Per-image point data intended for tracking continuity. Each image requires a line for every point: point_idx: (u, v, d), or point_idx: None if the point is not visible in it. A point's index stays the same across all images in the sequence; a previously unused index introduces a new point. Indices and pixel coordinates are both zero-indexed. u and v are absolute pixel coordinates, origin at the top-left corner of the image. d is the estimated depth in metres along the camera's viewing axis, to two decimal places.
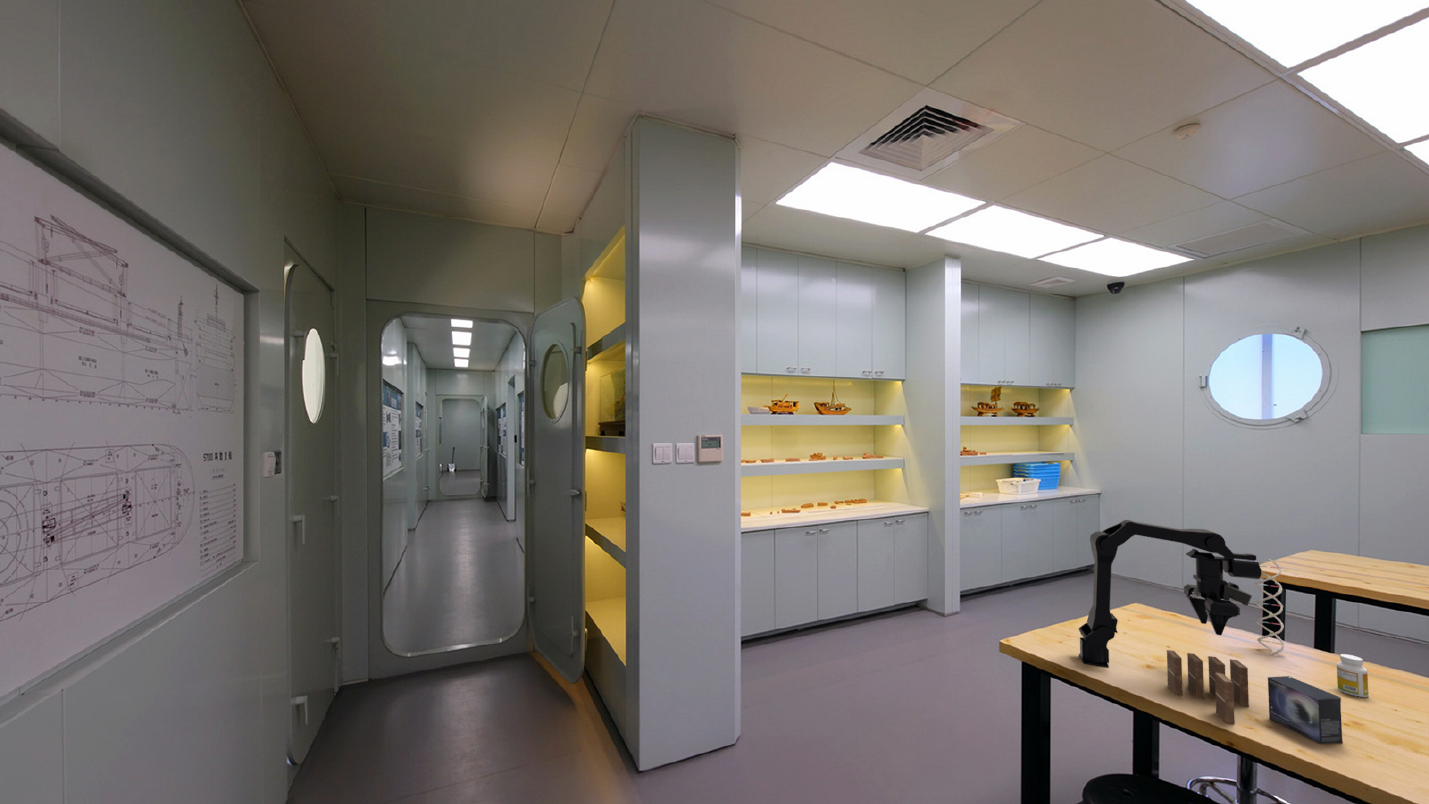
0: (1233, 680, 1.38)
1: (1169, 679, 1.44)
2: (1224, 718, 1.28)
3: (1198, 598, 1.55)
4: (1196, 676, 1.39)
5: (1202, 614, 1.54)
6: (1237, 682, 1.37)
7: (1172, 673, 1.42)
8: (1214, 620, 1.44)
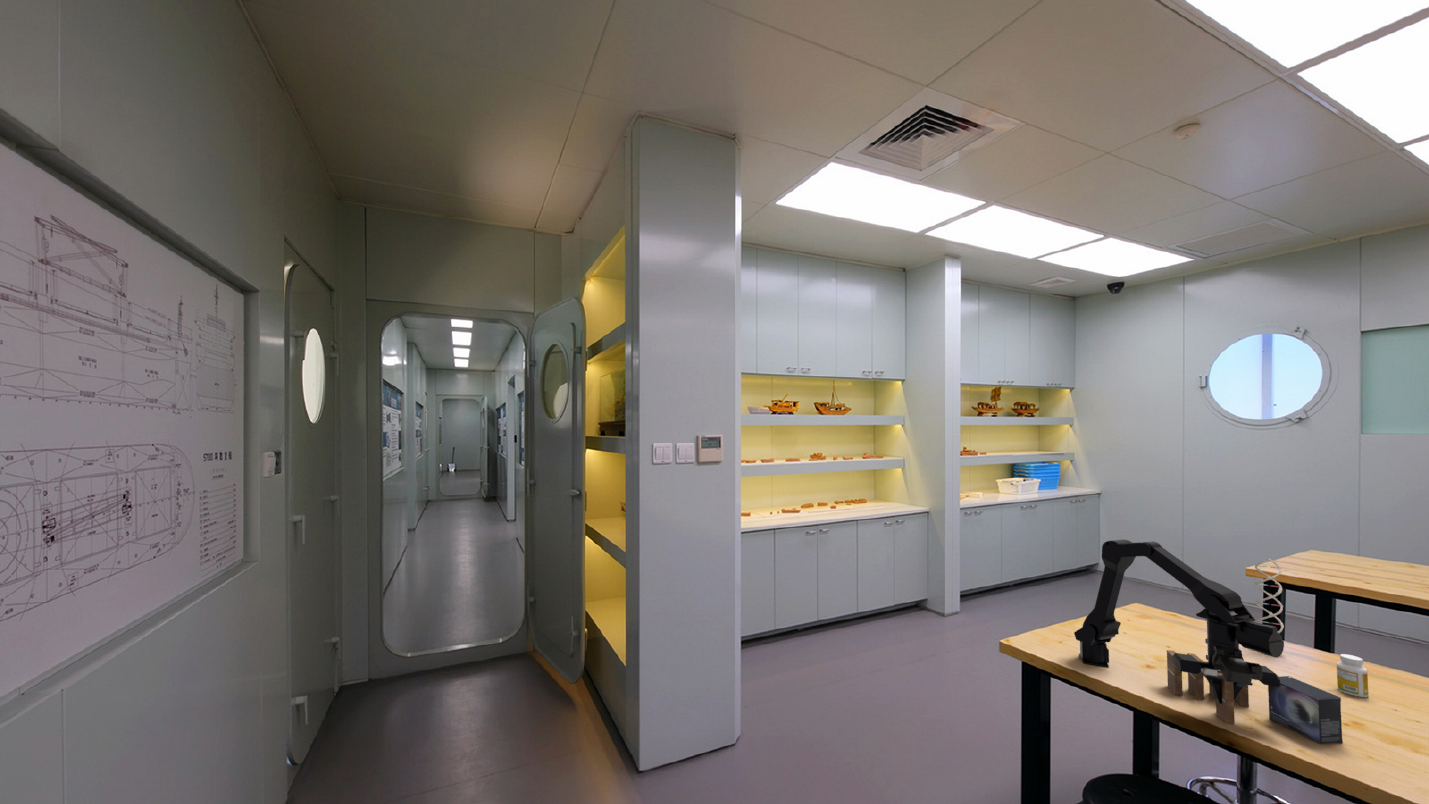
0: None
1: (1169, 679, 1.44)
2: (1224, 718, 1.28)
3: None
4: (1196, 676, 1.39)
5: None
6: None
7: (1172, 673, 1.42)
8: (1209, 682, 1.32)
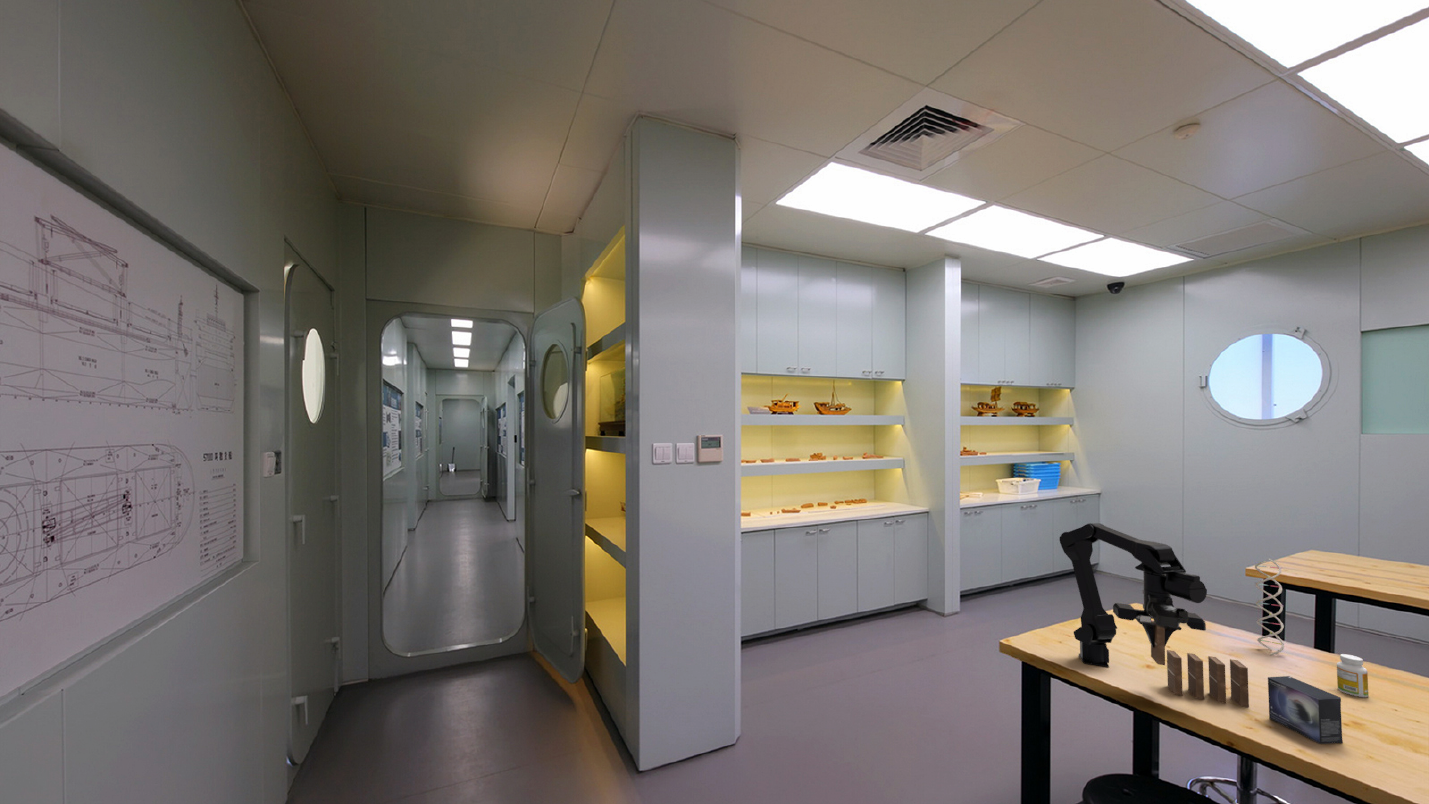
0: (1233, 680, 1.38)
1: (1169, 679, 1.44)
2: (1156, 660, 1.40)
3: None
4: (1196, 676, 1.39)
5: None
6: (1237, 682, 1.37)
7: (1172, 673, 1.42)
8: (1144, 628, 1.44)
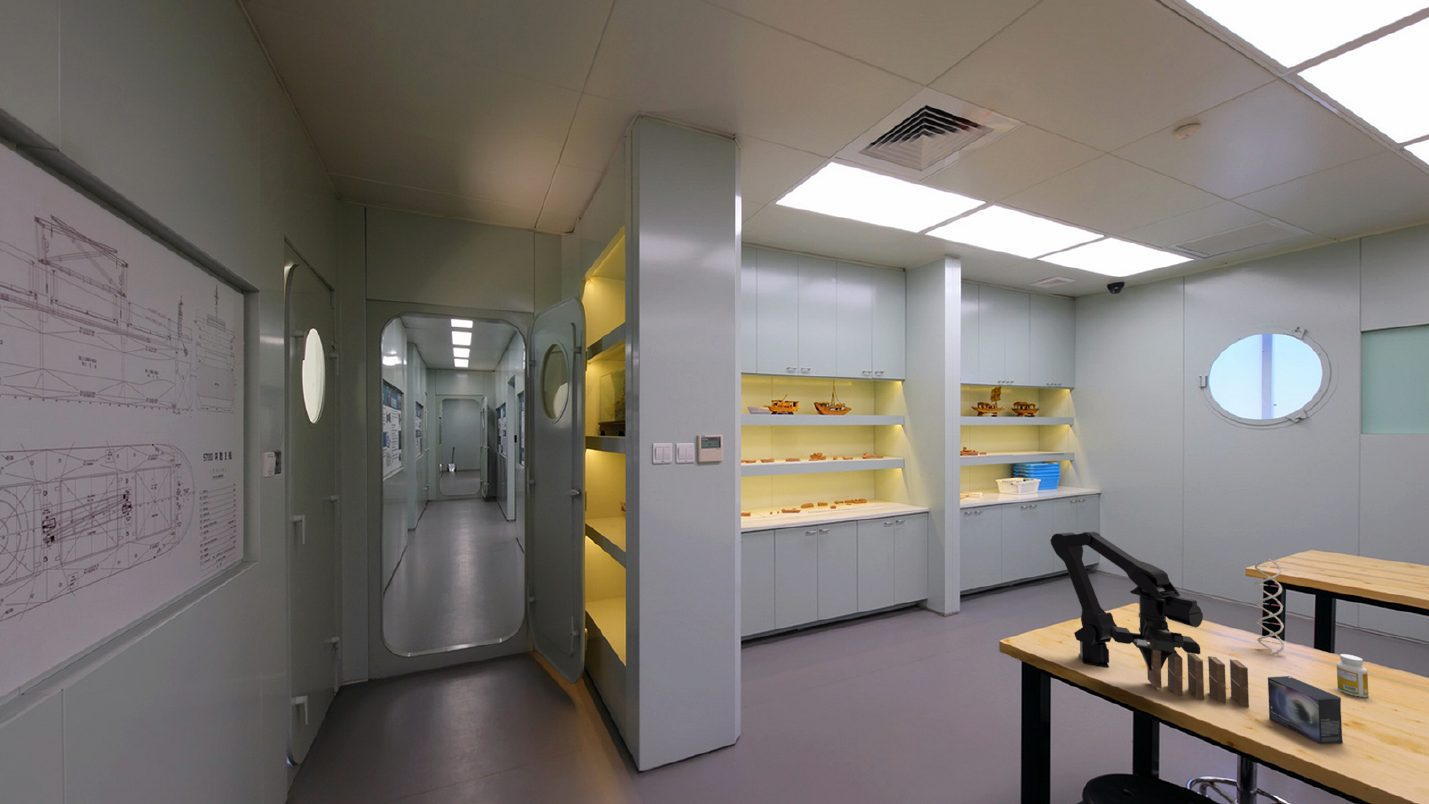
0: (1233, 680, 1.38)
1: (1169, 679, 1.44)
2: (1153, 683, 1.43)
3: None
4: (1196, 676, 1.39)
5: None
6: (1237, 682, 1.37)
7: (1172, 673, 1.42)
8: (1141, 651, 1.47)
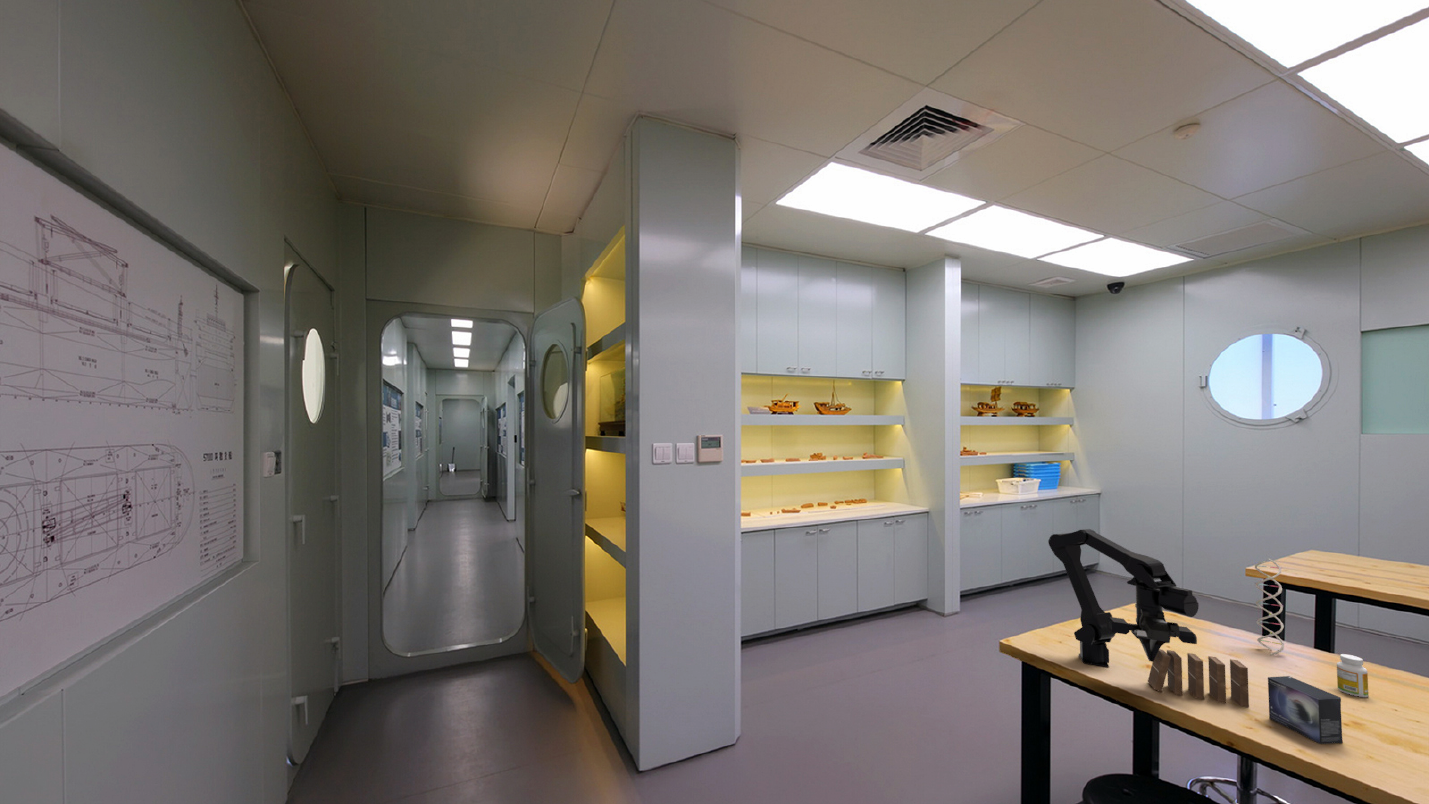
0: (1233, 680, 1.38)
1: (1169, 679, 1.44)
2: (1154, 686, 1.43)
3: None
4: (1196, 676, 1.39)
5: (1151, 651, 1.45)
6: (1237, 682, 1.37)
7: (1172, 673, 1.42)
8: (1141, 642, 1.47)
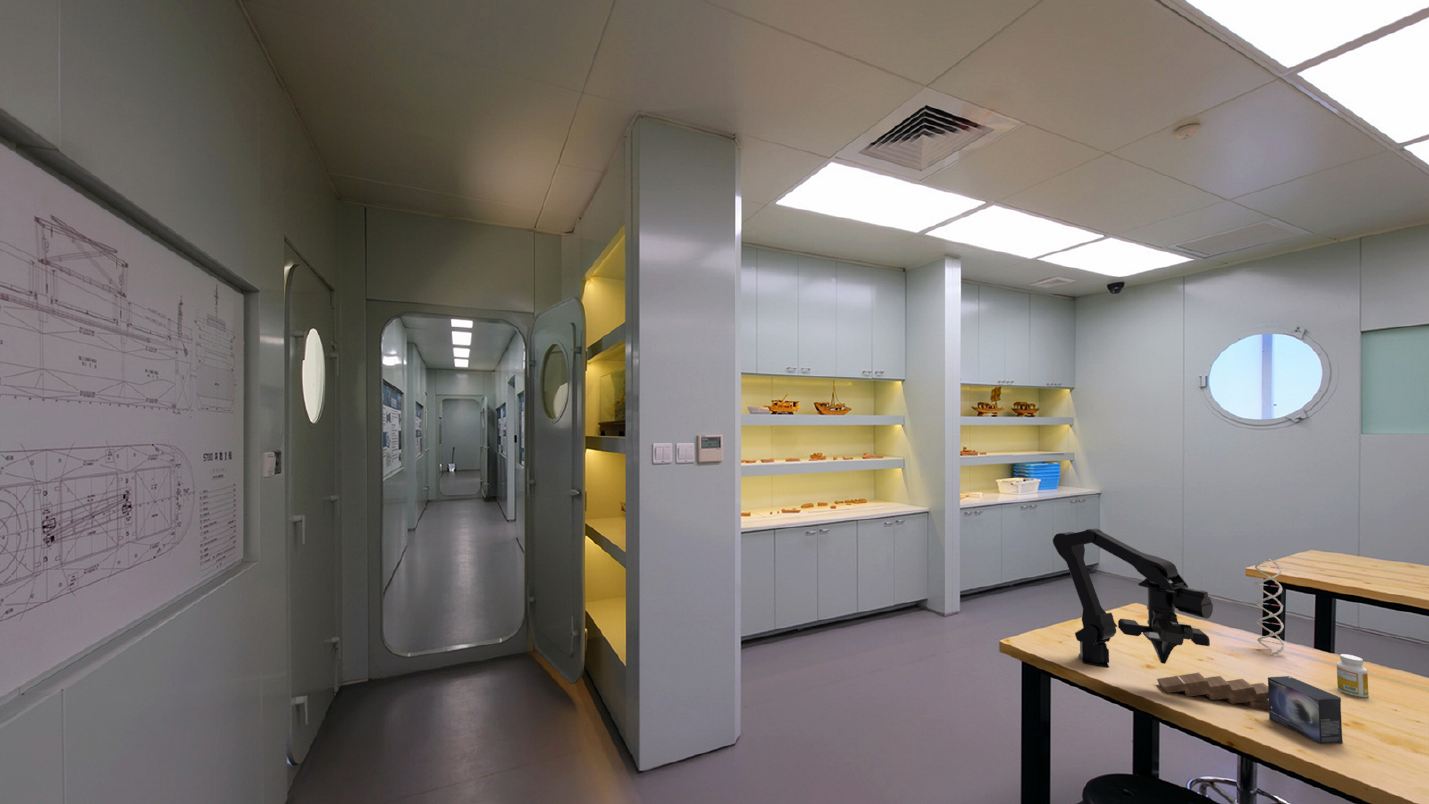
0: None
1: None
2: (1165, 685, 1.42)
3: None
4: (1234, 690, 1.36)
5: (1163, 653, 1.44)
6: None
7: None
8: (1153, 644, 1.46)
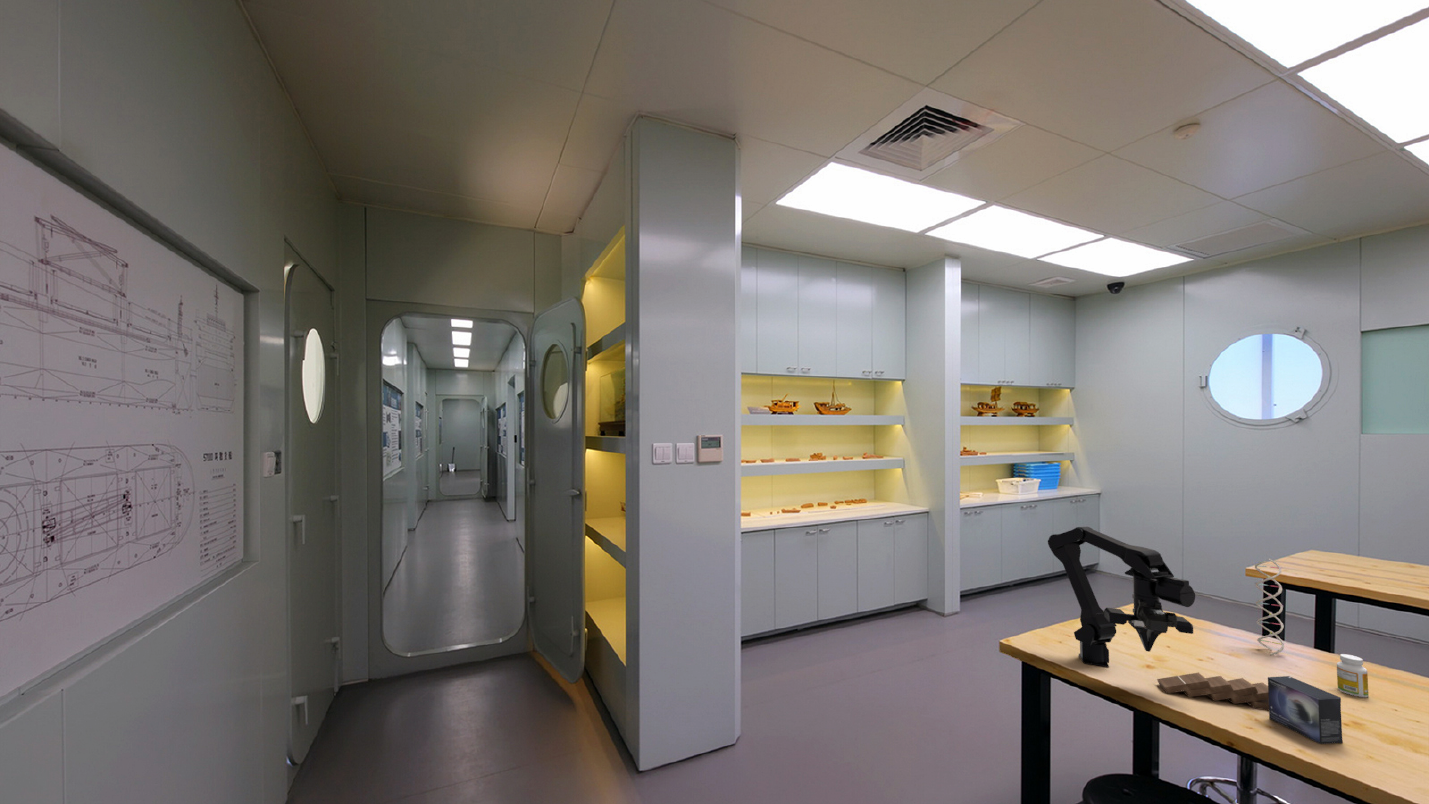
0: None
1: None
2: (1166, 685, 1.42)
3: None
4: (1236, 690, 1.36)
5: (1148, 641, 1.46)
6: None
7: None
8: (1138, 632, 1.47)
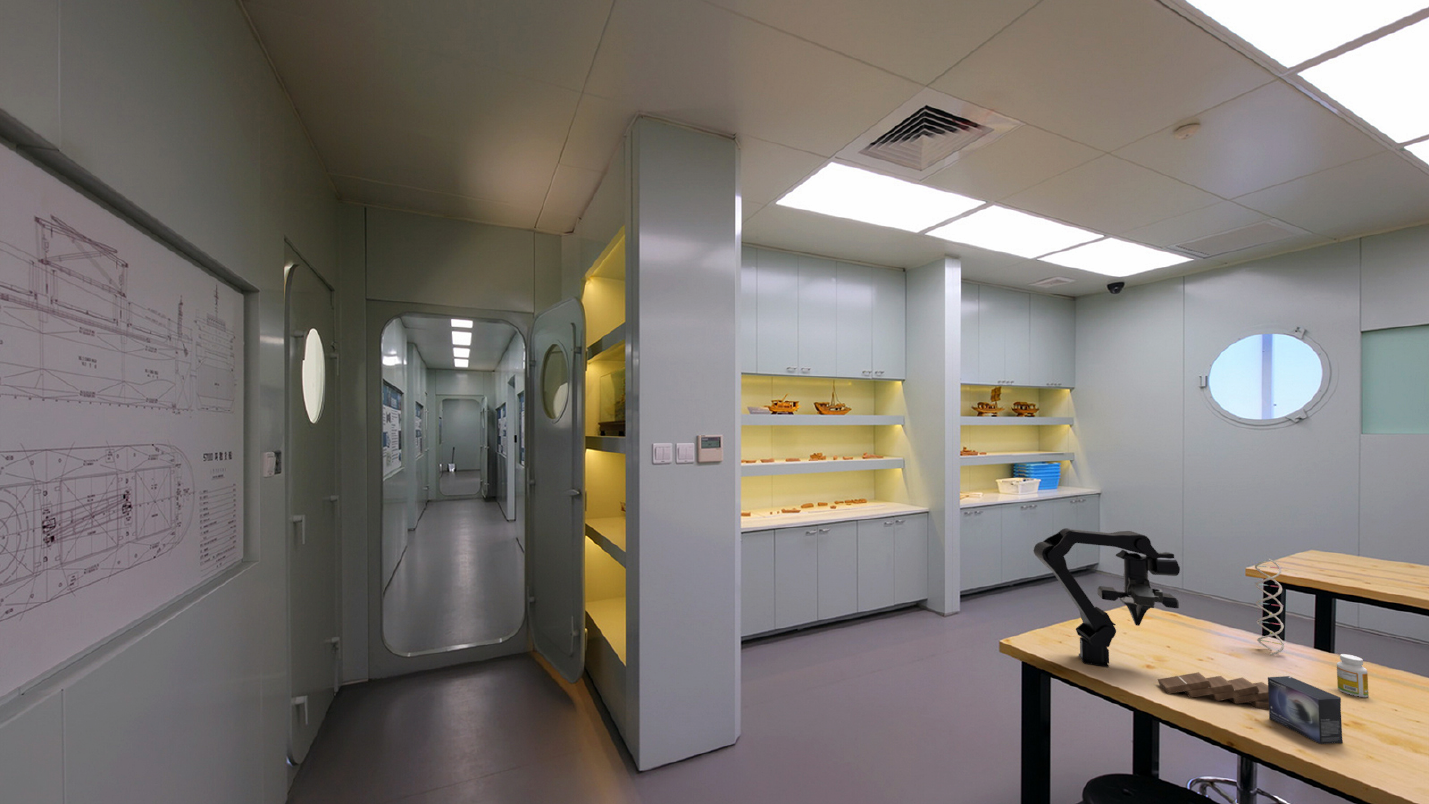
0: None
1: None
2: (1167, 685, 1.42)
3: None
4: (1238, 690, 1.36)
5: (1137, 616, 1.59)
6: None
7: None
8: (1128, 608, 1.60)
